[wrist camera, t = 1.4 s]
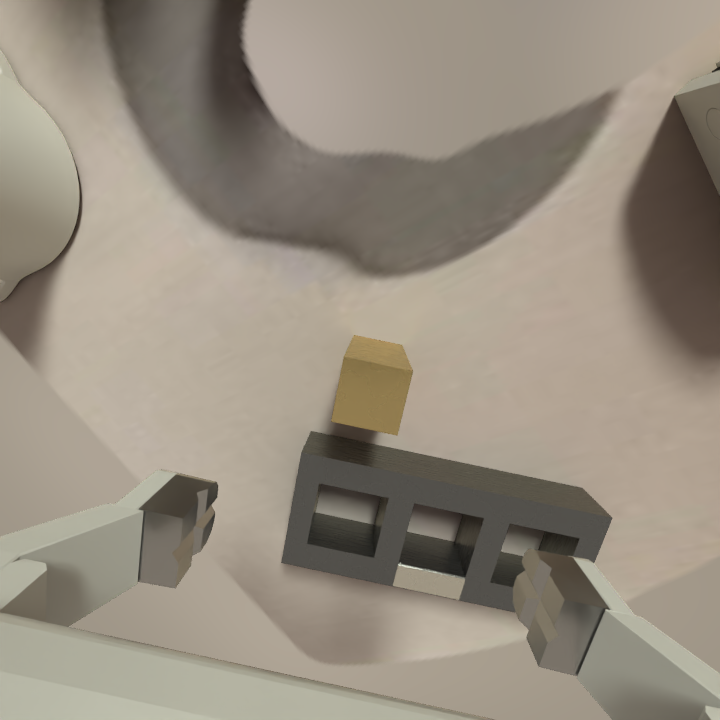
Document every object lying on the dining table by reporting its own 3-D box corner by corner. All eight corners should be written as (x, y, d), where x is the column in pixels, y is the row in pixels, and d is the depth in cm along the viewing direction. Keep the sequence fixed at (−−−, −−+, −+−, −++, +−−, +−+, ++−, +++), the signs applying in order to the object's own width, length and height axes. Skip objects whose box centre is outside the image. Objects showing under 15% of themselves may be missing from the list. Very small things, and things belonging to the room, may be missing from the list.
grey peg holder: (292, 529, 33) (281, 563, 29) (311, 431, 31) (301, 452, 27) (546, 583, 33) (570, 624, 29) (582, 488, 31) (613, 518, 27)
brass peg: (344, 381, 30) (331, 421, 21) (353, 334, 29) (343, 356, 20) (391, 391, 30) (397, 435, 21) (402, 345, 29) (412, 371, 20)
